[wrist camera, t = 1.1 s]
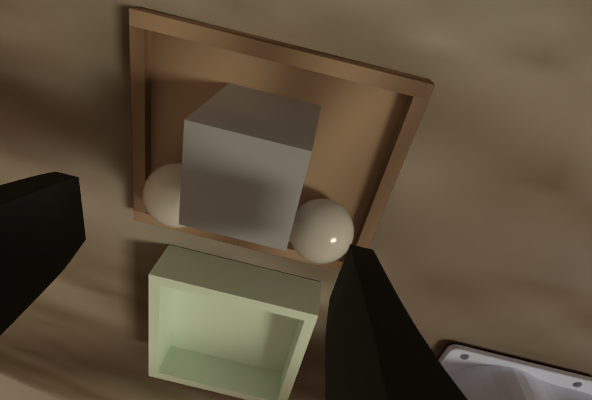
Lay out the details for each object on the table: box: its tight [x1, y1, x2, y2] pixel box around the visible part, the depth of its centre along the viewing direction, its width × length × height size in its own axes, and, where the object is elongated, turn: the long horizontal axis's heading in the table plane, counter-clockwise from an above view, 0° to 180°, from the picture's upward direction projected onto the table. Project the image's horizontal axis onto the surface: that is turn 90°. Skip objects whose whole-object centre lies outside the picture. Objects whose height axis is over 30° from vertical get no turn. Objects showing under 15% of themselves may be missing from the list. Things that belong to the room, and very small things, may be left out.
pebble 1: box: [143, 163, 187, 228], centre depth 17 cm, size 3×3×3 cm
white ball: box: [290, 198, 354, 264], centre depth 17 cm, size 3×3×3 cm
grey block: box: [179, 83, 321, 251], centre depth 14 cm, size 4×4×5 cm
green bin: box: [149, 245, 321, 400], centre depth 22 cm, size 9×9×2 cm
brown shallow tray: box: [129, 7, 435, 271], centre depth 17 cm, size 12×10×1 cm
